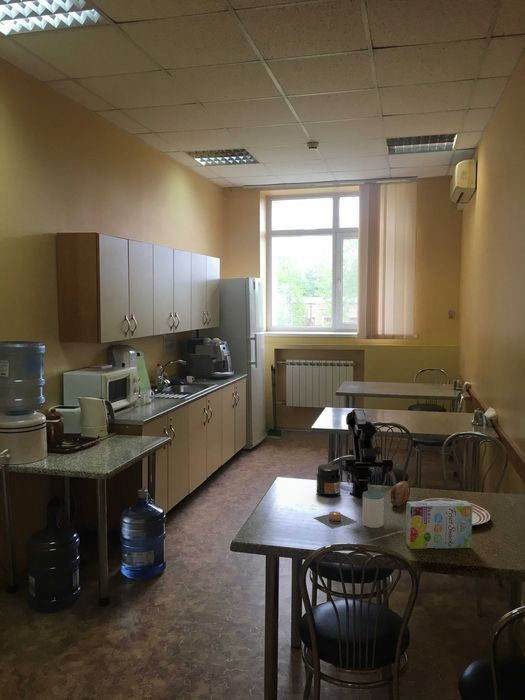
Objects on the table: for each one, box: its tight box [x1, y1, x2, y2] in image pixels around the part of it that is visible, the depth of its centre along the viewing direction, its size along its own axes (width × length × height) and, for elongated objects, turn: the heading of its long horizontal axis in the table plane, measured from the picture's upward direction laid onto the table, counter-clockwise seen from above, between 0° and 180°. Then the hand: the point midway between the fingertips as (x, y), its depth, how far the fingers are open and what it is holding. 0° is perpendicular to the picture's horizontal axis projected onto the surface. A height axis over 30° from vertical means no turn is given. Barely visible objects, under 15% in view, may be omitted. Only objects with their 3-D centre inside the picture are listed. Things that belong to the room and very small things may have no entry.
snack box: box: [405, 500, 473, 550], centre depth 193 cm, size 21×6×15 cm, turn 92°
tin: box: [390, 480, 411, 507], centre depth 235 cm, size 15×3×8 cm, turn 143°
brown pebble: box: [328, 510, 342, 522], centre depth 215 cm, size 4×4×2 cm
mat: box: [313, 513, 358, 530], centre depth 215 cm, size 12×12×1 cm
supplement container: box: [315, 463, 342, 498], centre depth 245 cm, size 10×10×12 cm
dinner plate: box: [421, 497, 491, 527], centre depth 219 cm, size 28×27×3 cm
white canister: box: [361, 489, 385, 529], centre depth 211 cm, size 8×8×12 cm
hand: (370, 484), depth 217 cm, fingers open, 9 cm apart
